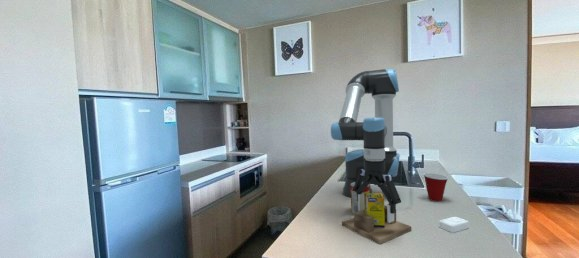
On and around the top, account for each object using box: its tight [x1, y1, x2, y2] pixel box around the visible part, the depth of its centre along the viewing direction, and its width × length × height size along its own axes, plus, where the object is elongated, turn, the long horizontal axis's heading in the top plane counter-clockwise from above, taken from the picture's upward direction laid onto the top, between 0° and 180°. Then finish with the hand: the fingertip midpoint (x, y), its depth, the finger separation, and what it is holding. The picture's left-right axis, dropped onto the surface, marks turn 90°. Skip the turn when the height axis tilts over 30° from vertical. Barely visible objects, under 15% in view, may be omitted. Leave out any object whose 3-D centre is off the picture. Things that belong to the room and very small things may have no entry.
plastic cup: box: [423, 172, 450, 202], centre depth 125 cm, size 11×11×12 cm
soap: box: [438, 216, 470, 234], centre depth 95 cm, size 9×6×3 cm, turn 112°
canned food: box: [350, 182, 369, 214], centre depth 114 cm, size 8×8×12 cm
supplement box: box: [366, 192, 385, 227], centre depth 97 cm, size 6×6×11 cm
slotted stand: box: [341, 204, 412, 245], centre depth 97 cm, size 18×17×6 cm
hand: (375, 215), depth 97 cm, fingers open, 13 cm apart
